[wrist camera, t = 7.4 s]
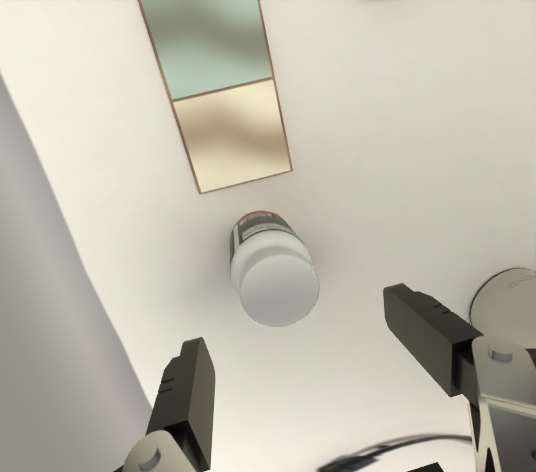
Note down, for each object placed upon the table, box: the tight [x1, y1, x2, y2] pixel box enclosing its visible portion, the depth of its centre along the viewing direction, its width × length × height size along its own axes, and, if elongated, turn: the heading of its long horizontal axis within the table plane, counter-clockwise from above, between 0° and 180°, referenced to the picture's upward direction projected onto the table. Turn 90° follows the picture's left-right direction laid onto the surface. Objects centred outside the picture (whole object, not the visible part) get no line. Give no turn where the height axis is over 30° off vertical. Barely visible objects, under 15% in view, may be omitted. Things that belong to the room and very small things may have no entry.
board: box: [138, 0, 293, 194], centre depth 19 cm, size 21×8×1 cm, turn 13°
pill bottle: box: [230, 211, 319, 327], centre depth 20 cm, size 6×6×10 cm
